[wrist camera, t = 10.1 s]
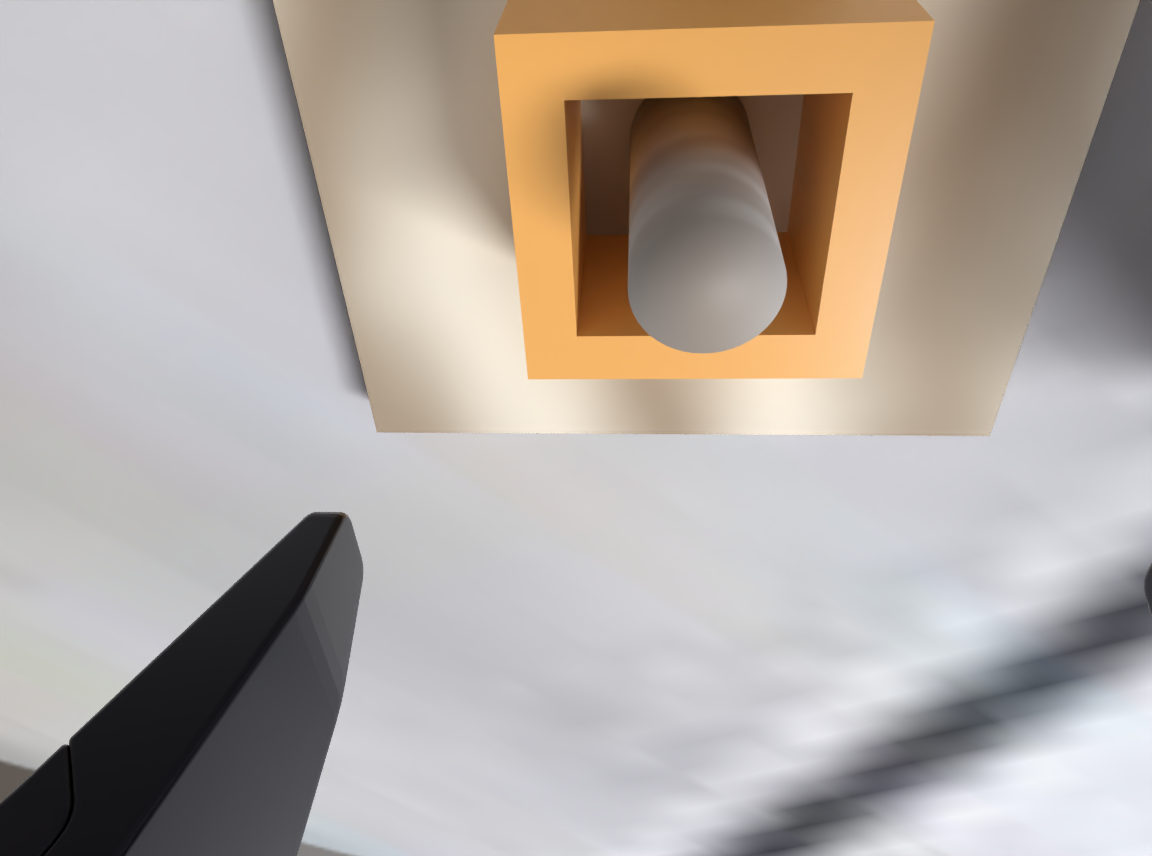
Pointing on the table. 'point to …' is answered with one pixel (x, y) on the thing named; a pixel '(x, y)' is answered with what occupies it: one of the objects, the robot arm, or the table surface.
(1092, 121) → the post board
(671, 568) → the table surface
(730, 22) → the orange square ring
